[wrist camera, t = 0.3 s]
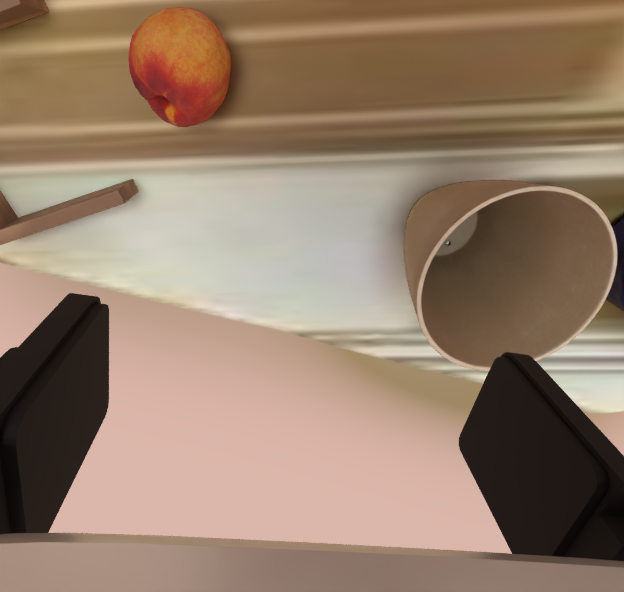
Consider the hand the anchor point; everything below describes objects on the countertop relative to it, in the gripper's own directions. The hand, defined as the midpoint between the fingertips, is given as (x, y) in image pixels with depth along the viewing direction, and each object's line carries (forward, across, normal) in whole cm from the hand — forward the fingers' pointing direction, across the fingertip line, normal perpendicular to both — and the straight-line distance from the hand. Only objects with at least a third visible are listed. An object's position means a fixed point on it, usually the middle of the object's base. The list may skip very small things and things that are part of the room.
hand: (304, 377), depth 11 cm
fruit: (+35, +9, -6) cm, 37 cm away
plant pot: (+35, -18, +4) cm, 40 cm away
